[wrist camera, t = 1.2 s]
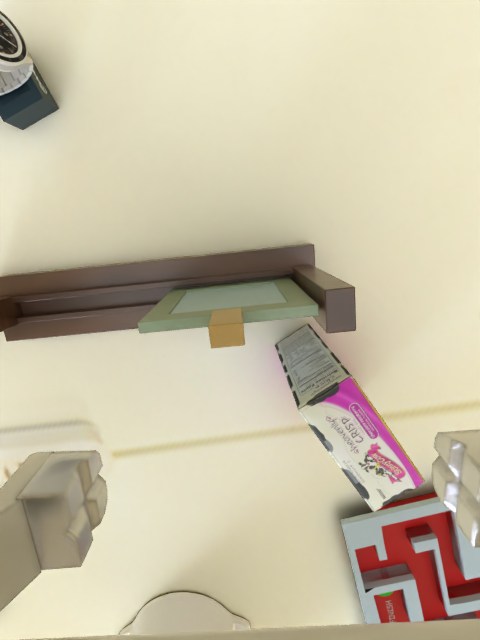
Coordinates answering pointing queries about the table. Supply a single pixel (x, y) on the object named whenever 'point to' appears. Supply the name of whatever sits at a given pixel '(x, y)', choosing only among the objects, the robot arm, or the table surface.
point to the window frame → (157, 291)
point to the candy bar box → (346, 420)
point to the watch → (20, 81)
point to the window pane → (228, 308)
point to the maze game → (413, 563)
